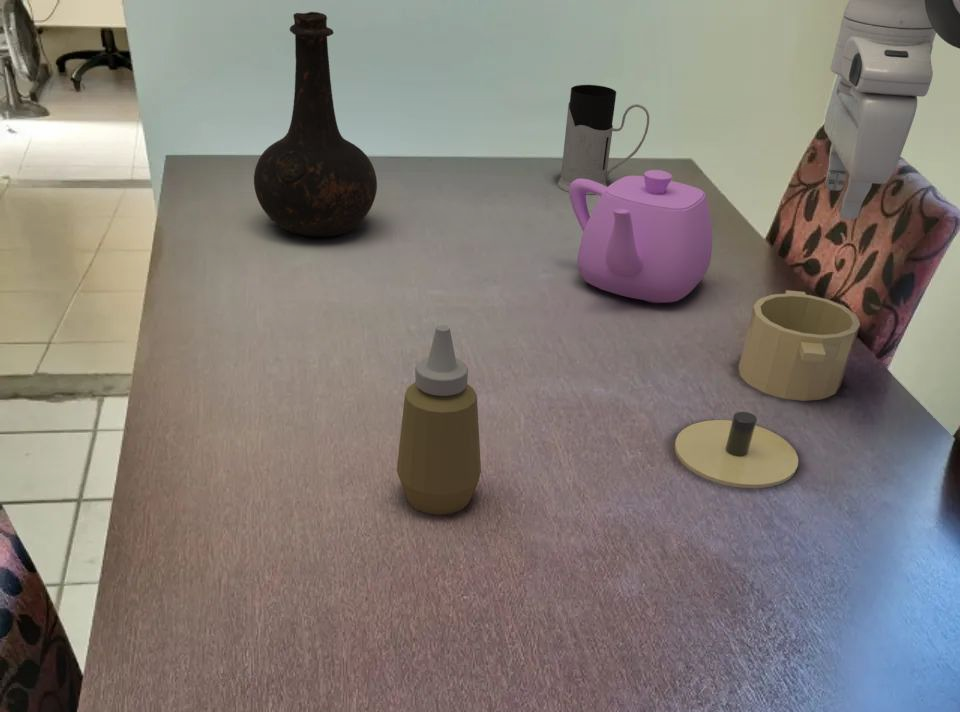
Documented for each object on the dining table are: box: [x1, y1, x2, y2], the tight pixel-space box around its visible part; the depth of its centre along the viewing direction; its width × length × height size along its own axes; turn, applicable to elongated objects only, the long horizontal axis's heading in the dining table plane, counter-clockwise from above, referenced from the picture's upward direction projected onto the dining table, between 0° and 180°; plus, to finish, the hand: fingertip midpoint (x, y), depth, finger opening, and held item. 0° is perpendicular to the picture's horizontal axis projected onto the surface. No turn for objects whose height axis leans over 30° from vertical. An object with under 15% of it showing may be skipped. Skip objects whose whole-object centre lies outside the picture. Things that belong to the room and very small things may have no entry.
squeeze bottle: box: [396, 324, 482, 516], centre depth 89 cm, size 8×8×18 cm
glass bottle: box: [253, 11, 378, 238], centre depth 139 cm, size 18×18×28 cm
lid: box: [674, 411, 799, 489], centre depth 102 cm, size 13×13×5 cm
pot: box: [738, 289, 861, 402], centre depth 116 cm, size 12×17×8 cm
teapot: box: [568, 169, 713, 304], centre depth 132 cm, size 23×21×15 cm
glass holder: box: [557, 84, 650, 196], centre depth 164 cm, size 9×14×15 cm, turn 75°
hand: (839, 202), depth 104 cm, fingers open, 8 cm apart
